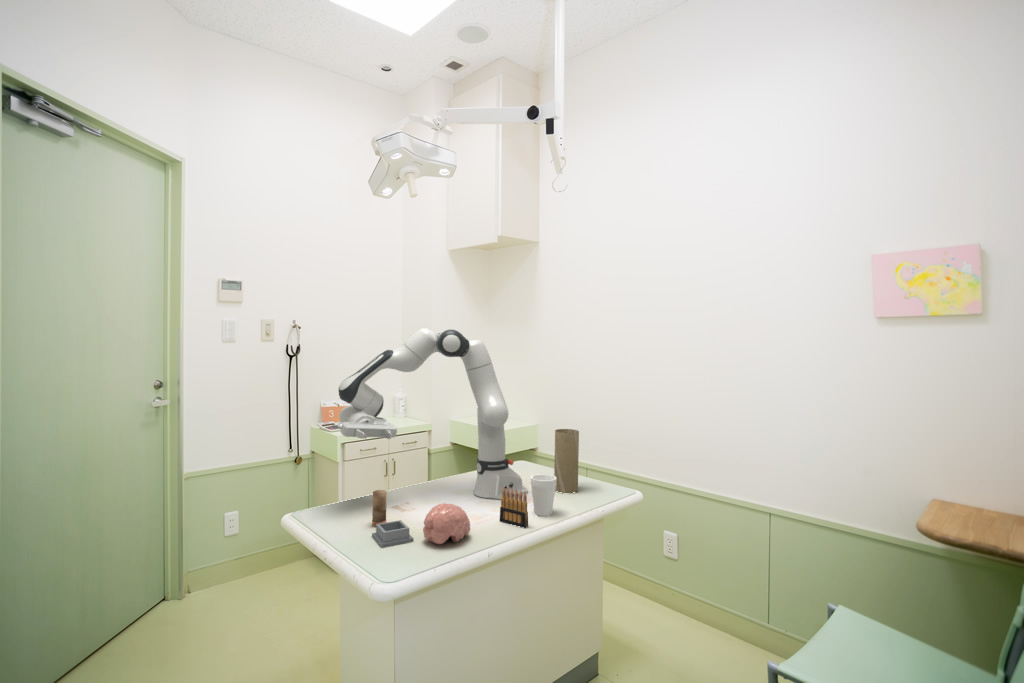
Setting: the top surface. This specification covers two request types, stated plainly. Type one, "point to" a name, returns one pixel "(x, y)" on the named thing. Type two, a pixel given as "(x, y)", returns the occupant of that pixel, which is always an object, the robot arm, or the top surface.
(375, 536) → the socket block
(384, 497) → the brown rounded peg
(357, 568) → the top surface
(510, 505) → the ammunition clip
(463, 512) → the brain
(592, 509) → the top surface
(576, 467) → the tube
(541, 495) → the foam cup
